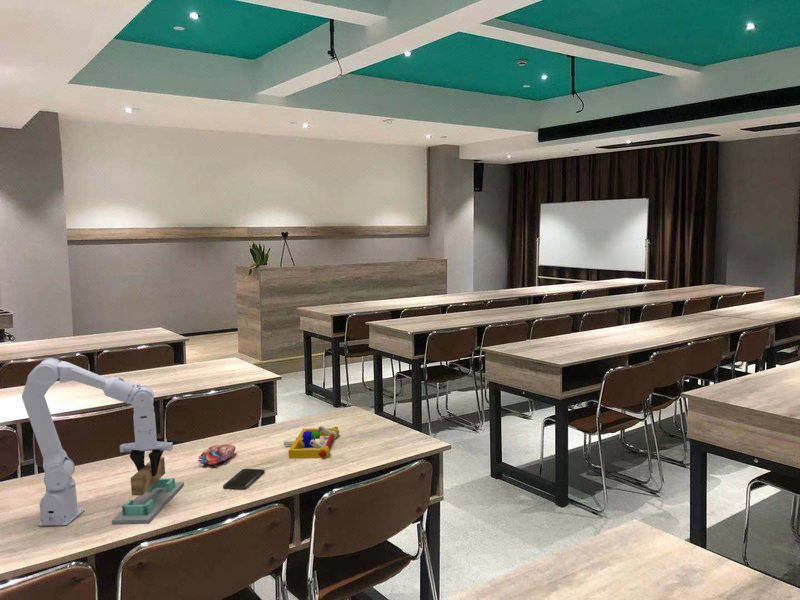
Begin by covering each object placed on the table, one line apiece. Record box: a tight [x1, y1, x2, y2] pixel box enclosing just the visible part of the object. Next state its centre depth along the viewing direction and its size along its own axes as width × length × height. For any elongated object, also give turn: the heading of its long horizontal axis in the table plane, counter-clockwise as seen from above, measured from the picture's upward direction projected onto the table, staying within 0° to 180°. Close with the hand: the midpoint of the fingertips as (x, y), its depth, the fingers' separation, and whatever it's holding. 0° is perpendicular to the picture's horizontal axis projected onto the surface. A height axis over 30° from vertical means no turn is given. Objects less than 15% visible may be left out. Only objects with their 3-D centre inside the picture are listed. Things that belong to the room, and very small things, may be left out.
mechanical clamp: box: [283, 425, 340, 460], centre depth 227 cm, size 18×6×30 cm
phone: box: [222, 468, 265, 491], centre depth 195 cm, size 8×1×15 cm
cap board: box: [111, 477, 185, 525], centre depth 180 cm, size 26×10×4 cm, turn 179°
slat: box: [130, 456, 166, 497], centre depth 179 cm, size 16×3×5 cm, turn 179°
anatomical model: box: [197, 443, 237, 466], centre depth 213 cm, size 11×6×15 cm
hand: (148, 475), depth 179 cm, fingers closed on slat, 3 cm apart
